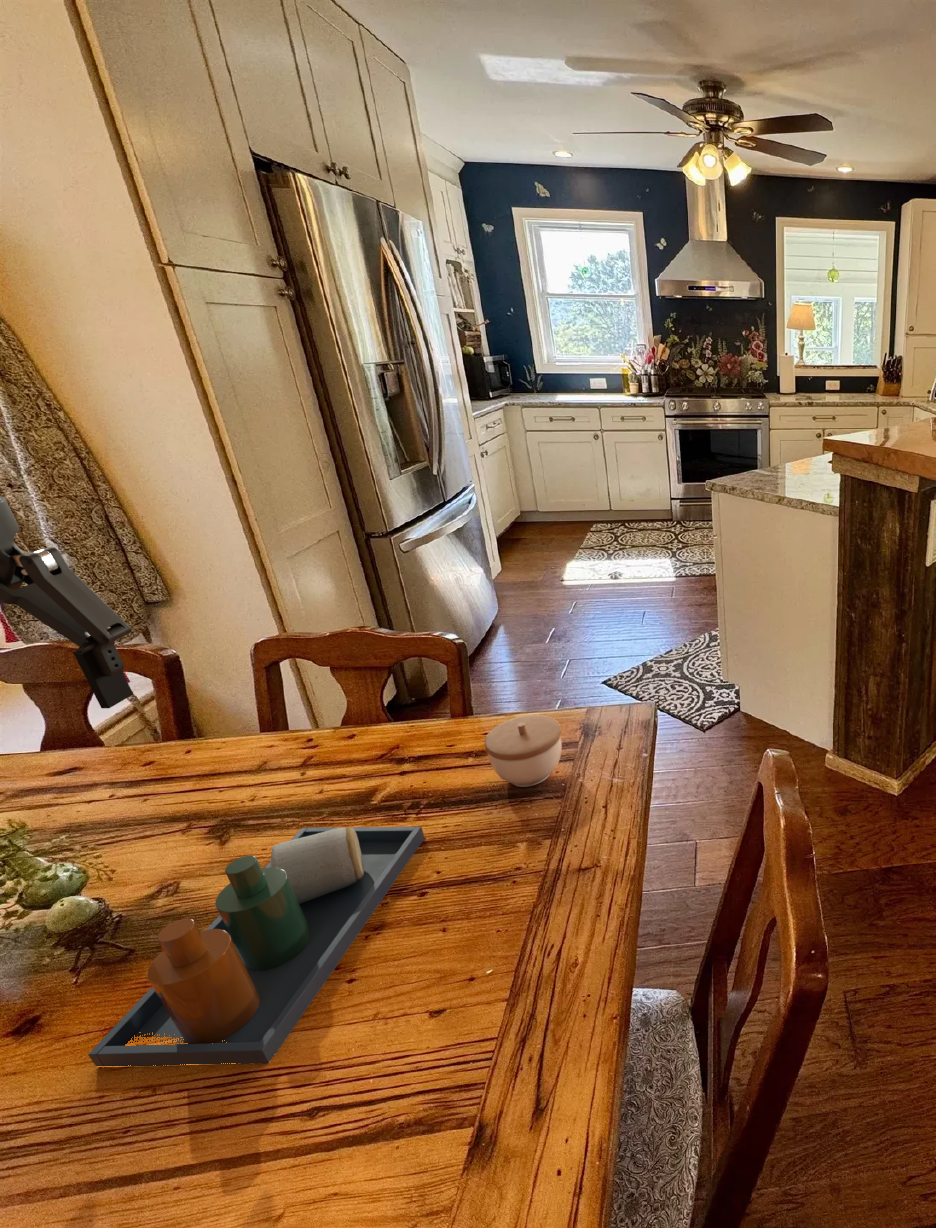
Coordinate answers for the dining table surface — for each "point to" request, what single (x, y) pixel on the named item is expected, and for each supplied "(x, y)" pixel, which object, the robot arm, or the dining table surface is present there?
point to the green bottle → (262, 914)
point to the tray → (282, 986)
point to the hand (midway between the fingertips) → (48, 701)
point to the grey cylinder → (320, 862)
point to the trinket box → (525, 749)
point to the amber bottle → (202, 982)
